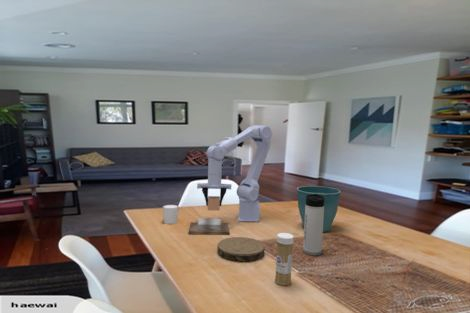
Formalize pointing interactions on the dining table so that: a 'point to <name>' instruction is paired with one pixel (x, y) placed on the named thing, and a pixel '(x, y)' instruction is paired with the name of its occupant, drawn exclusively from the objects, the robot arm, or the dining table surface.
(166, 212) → the grey cup
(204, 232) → the walnut base
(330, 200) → the flower pot
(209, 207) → the terracotta block
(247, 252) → the wood slice coaster
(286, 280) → the sprinkles bottle
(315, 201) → the travel mug
